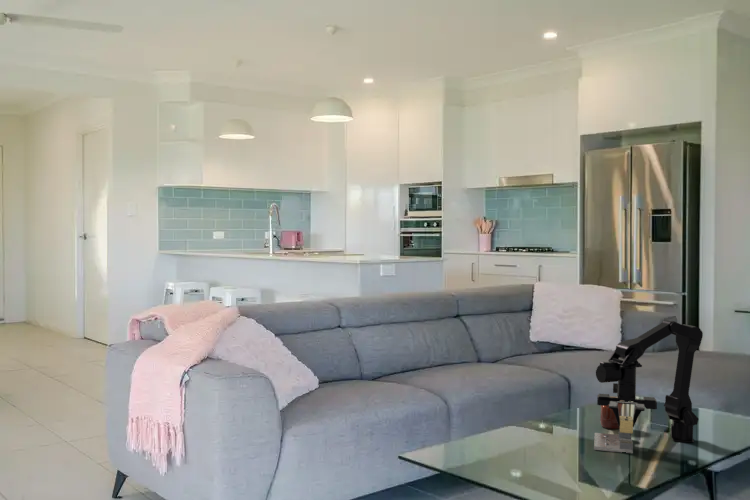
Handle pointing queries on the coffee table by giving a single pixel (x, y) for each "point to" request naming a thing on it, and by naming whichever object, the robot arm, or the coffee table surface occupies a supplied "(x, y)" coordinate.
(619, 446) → the steel hinge plate
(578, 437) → the coffee table surface
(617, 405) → the robot arm
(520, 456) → the coffee table surface
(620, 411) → the mug
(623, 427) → the block
